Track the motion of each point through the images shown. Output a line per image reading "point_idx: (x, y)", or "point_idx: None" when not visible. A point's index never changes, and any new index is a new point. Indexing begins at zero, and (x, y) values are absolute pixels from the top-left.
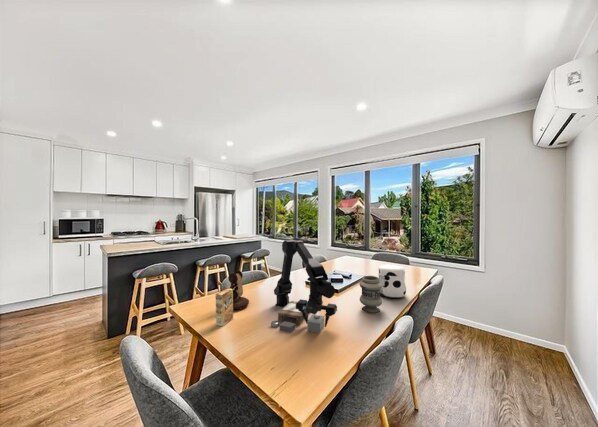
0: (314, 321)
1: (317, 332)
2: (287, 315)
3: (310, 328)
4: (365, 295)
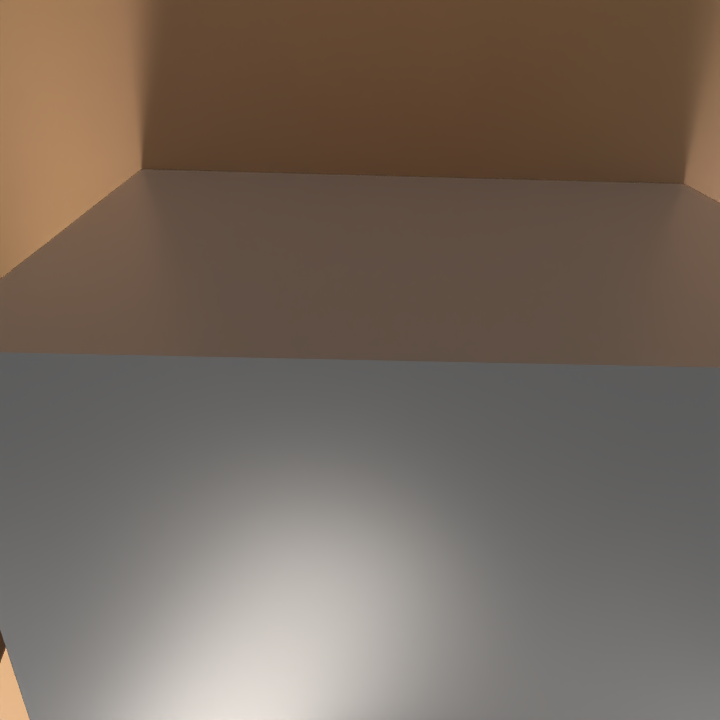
0: (448, 514)
1: (255, 172)
2: None
3: (591, 215)
4: None
